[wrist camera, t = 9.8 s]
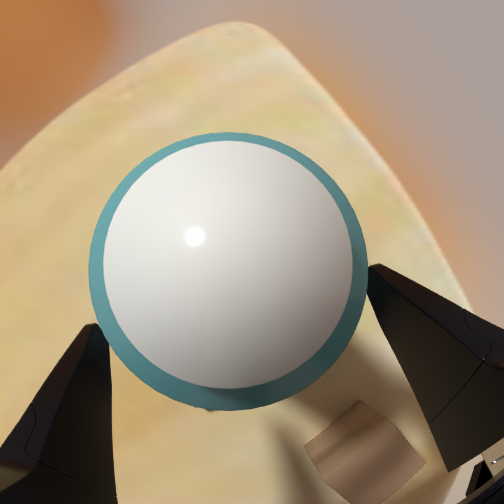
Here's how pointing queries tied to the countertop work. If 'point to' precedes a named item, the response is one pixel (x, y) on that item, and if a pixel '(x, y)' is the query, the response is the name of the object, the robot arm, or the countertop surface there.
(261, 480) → the countertop surface
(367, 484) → the walnut block
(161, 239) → the spice jar
